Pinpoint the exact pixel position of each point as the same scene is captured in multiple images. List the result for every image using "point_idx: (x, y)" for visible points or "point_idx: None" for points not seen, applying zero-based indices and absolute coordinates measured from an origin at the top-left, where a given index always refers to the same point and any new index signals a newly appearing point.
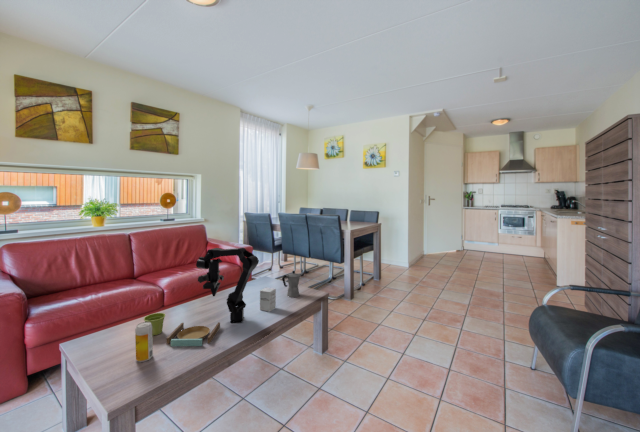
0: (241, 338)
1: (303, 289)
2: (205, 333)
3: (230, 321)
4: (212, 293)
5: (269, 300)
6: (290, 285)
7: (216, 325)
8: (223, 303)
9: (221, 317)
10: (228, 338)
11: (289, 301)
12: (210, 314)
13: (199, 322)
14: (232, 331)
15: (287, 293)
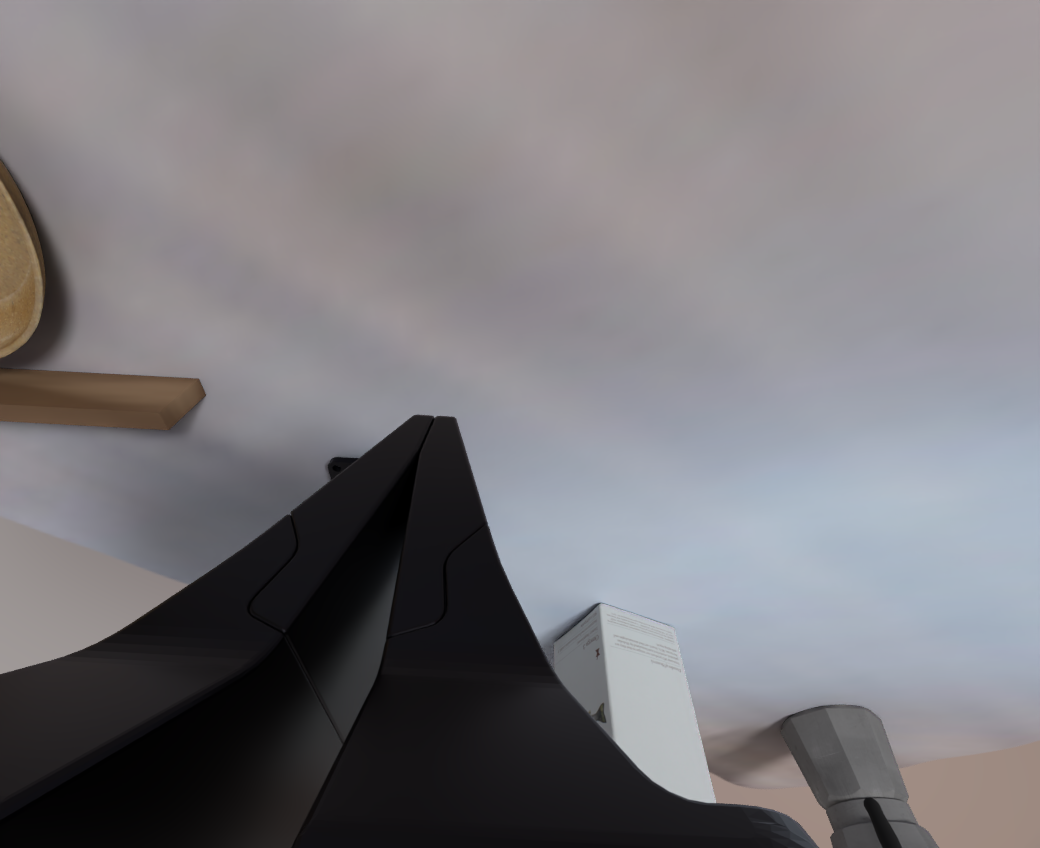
0: (121, 548)
1: (915, 754)
2: (18, 290)
3: (336, 462)
4: (359, 474)
5: None
6: (855, 820)
7: (86, 413)
8: (971, 269)
9: (452, 353)
10: (73, 484)
11: (718, 707)
12: (556, 178)
13: (257, 84)
14: (188, 491)
15: (857, 721)
